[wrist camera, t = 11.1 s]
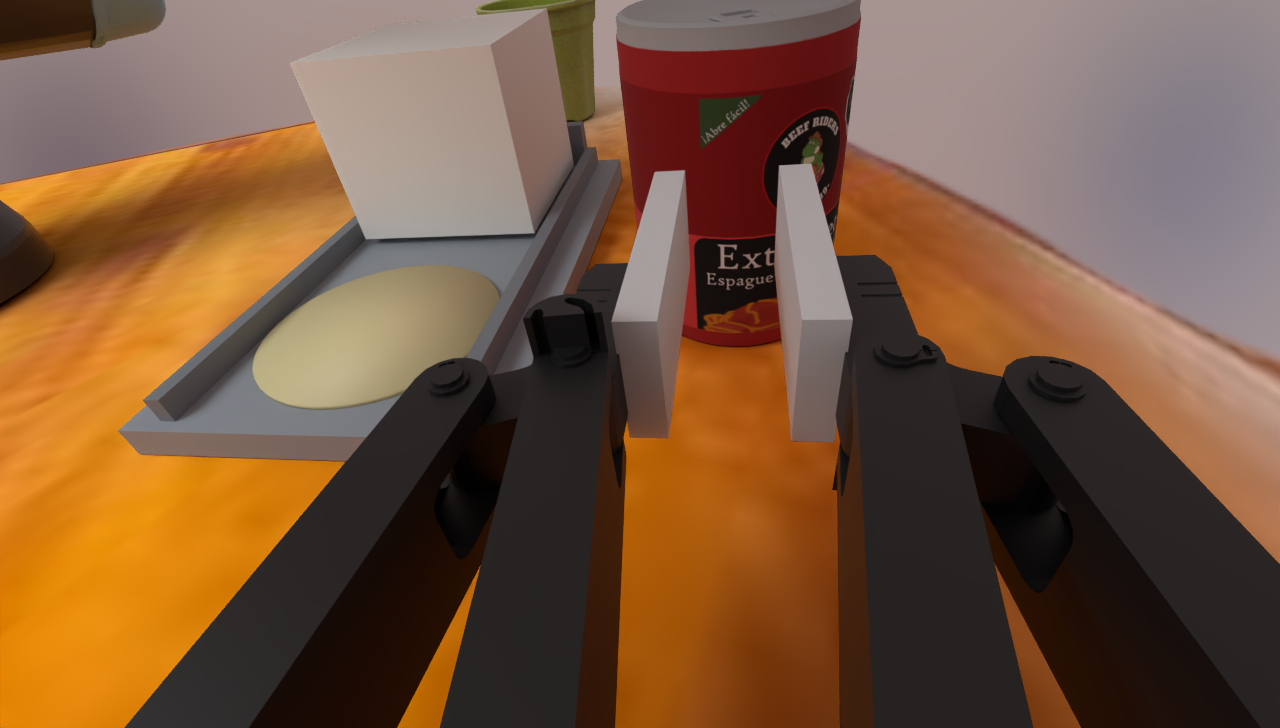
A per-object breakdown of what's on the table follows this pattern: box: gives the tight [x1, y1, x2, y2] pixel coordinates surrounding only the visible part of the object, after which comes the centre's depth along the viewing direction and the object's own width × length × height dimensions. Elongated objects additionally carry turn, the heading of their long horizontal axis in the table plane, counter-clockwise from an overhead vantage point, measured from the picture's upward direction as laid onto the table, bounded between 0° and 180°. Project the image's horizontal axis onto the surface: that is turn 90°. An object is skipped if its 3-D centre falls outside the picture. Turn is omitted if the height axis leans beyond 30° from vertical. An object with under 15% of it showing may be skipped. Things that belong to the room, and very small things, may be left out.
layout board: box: [118, 121, 622, 461], centre depth 28 cm, size 24×14×4 cm, turn 173°
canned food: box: [616, 0, 861, 346], centre depth 22 cm, size 8×8×11 cm
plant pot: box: [476, 0, 595, 122], centre depth 47 cm, size 9×9×9 cm
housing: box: [290, 8, 574, 239], centre depth 30 cm, size 9×9×8 cm
